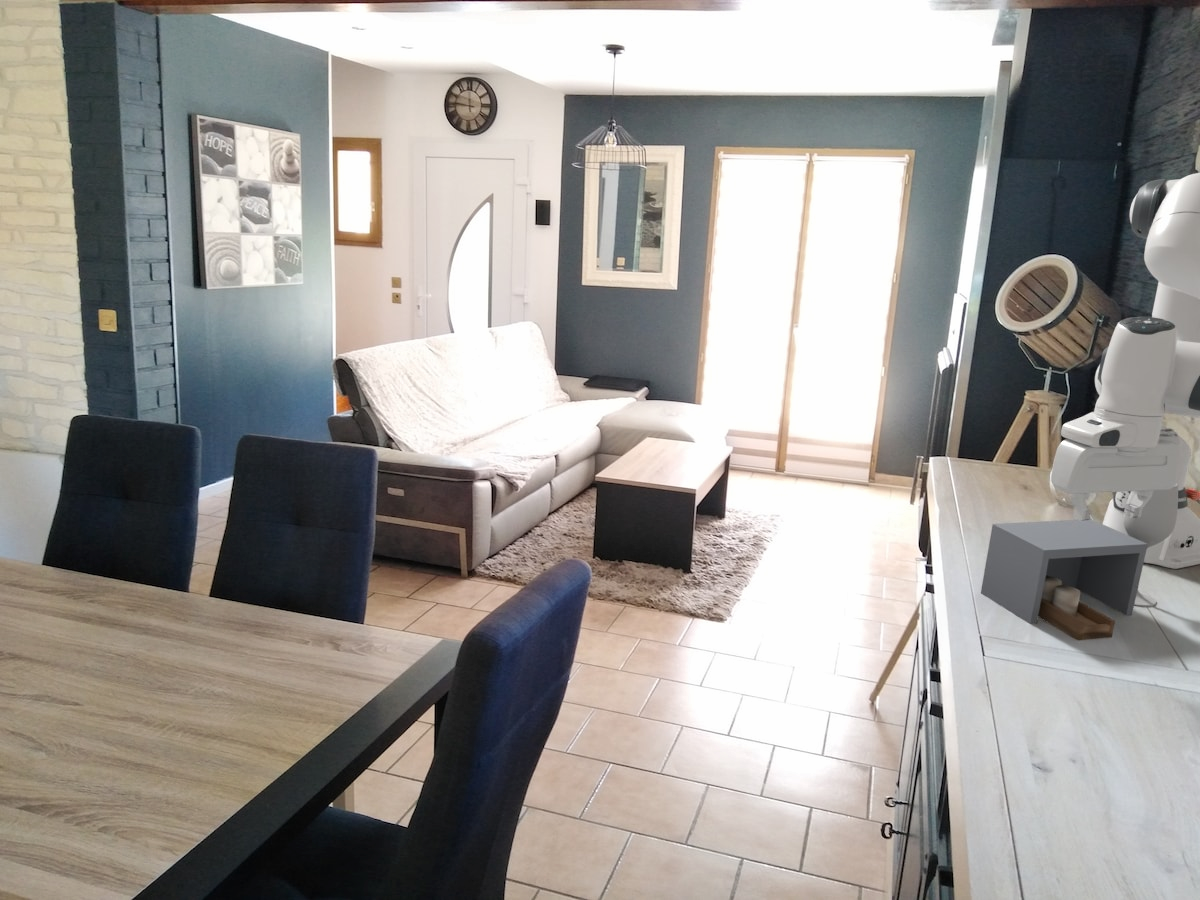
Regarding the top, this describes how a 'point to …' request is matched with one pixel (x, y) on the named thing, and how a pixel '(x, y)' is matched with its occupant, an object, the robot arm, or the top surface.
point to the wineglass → (1153, 526)
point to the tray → (1079, 623)
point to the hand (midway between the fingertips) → (1106, 518)
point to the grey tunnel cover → (1061, 564)
